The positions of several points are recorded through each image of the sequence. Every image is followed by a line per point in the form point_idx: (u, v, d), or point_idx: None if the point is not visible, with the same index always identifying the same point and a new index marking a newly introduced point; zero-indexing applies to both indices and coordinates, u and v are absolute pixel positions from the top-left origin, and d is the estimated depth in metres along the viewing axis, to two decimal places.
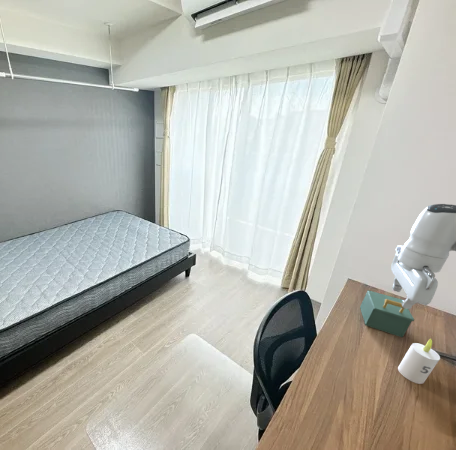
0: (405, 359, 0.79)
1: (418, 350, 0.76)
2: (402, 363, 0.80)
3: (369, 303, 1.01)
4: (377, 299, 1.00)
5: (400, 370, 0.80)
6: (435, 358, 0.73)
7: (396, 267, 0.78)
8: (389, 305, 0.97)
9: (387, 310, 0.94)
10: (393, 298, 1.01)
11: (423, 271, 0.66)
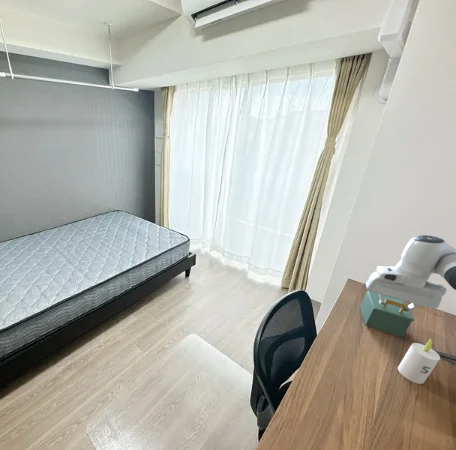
0: (405, 359, 0.79)
1: (418, 350, 0.76)
2: (402, 363, 0.80)
3: (369, 303, 1.01)
4: (377, 299, 1.00)
5: (400, 370, 0.80)
6: (435, 358, 0.73)
7: (383, 288, 0.93)
8: (389, 305, 0.97)
9: (387, 310, 0.94)
10: (393, 298, 1.01)
11: (427, 285, 0.87)
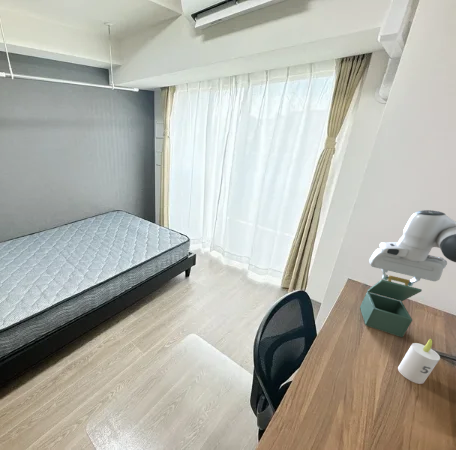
0: (405, 359, 0.79)
1: (418, 350, 0.76)
2: (402, 363, 0.80)
3: (369, 303, 1.01)
4: None
5: (400, 370, 0.80)
6: (435, 358, 0.73)
7: (385, 263, 0.95)
8: None
9: None
10: None
11: (428, 259, 0.90)
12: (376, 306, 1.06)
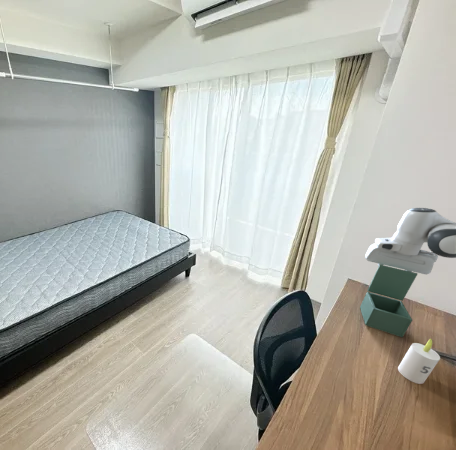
0: (405, 359, 0.79)
1: (418, 350, 0.76)
2: (402, 363, 0.80)
3: (369, 303, 1.01)
4: None
5: (400, 370, 0.80)
6: (435, 358, 0.73)
7: (380, 257, 1.01)
8: None
9: None
10: None
11: (420, 253, 0.96)
12: (376, 306, 1.06)
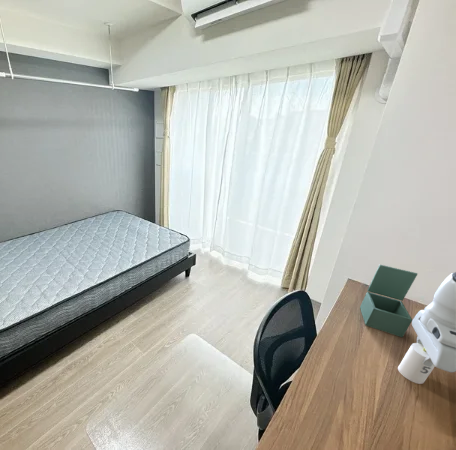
0: (405, 359, 0.79)
1: (418, 350, 0.76)
2: (402, 363, 0.80)
3: (369, 303, 1.01)
4: None
5: (400, 370, 0.80)
6: None
7: None
8: None
9: None
10: None
11: None
12: (376, 306, 1.06)
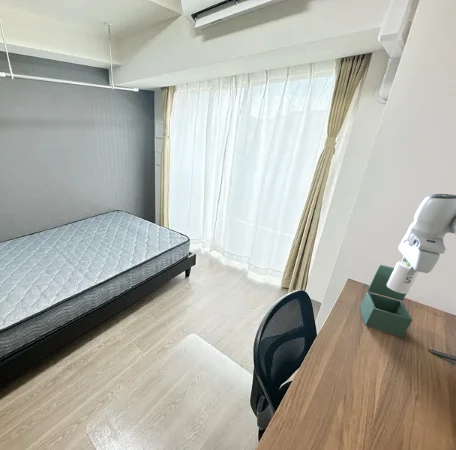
0: (392, 275, 0.94)
1: (403, 264, 0.92)
2: (390, 279, 0.95)
3: (369, 303, 1.01)
4: None
5: (388, 285, 0.96)
6: None
7: None
8: None
9: None
10: None
11: None
12: (376, 306, 1.06)
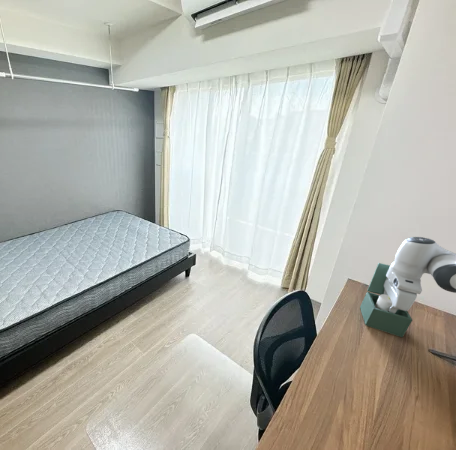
0: (375, 307, 1.01)
1: (384, 298, 0.98)
2: None
3: (369, 303, 1.01)
4: None
5: None
6: None
7: None
8: None
9: None
10: None
11: None
12: None
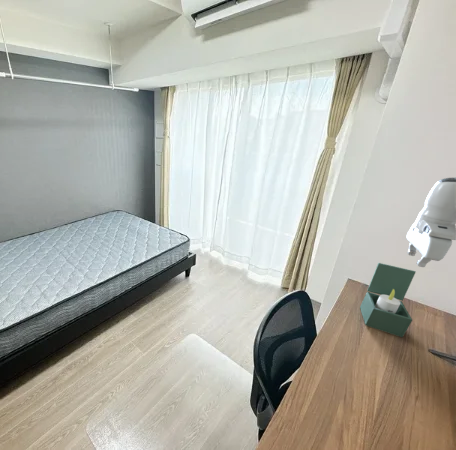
0: (375, 307, 1.01)
1: (384, 298, 0.98)
2: None
3: (369, 303, 1.01)
4: None
5: None
6: (396, 303, 0.96)
7: None
8: None
9: None
10: None
11: None
12: None
